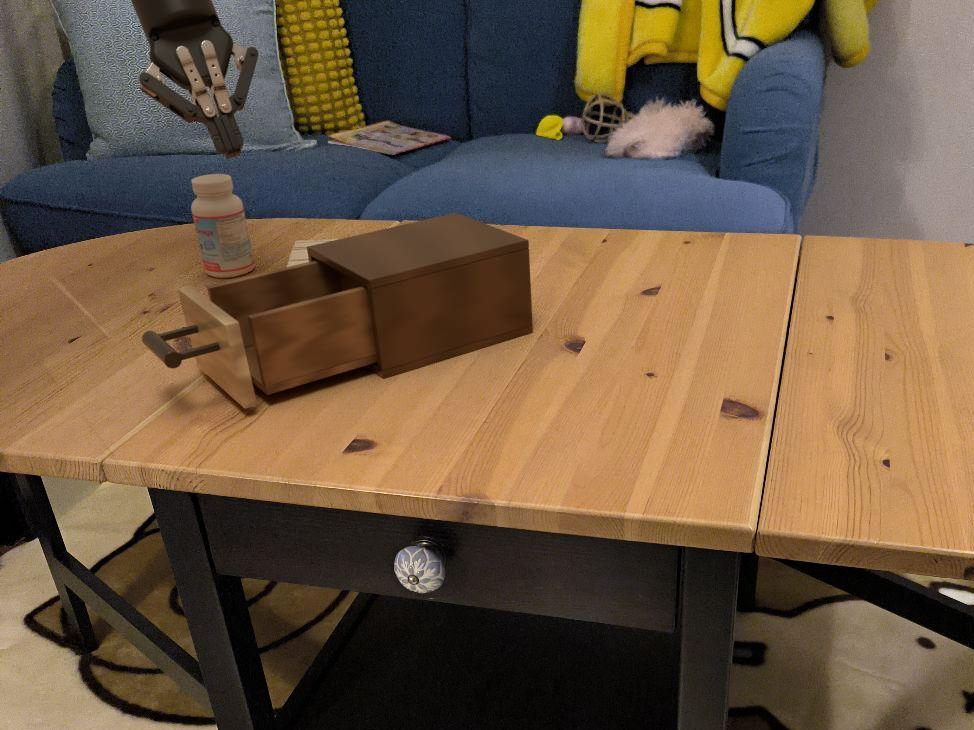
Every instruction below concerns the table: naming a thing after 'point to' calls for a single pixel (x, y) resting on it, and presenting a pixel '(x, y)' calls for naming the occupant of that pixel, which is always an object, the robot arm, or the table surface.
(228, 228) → the pill bottle
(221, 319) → the drawer
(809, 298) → the table surface
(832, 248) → the table surface
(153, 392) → the table surface
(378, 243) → the cabinet
